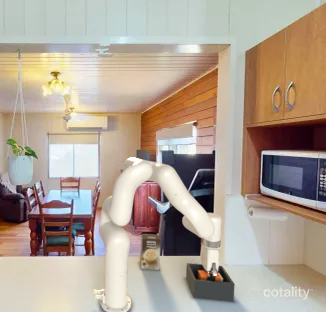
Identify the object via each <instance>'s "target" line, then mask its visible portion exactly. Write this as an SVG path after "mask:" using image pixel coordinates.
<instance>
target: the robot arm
mask: <svg viewBox="0 0 326 312" xmlns="http://www.w3.org/2000/svg"><path fill="white" fill-rule="evenodd" d="M147 181H150V182H154V183H156V184H157V185H158V186H159V188H160V189H161V191H162V192H163V193H164V196H165V197H166V198H167V200H168V202H169V203H170V204H171V205H172V206H173V207H174V209H176V210H177V211H178V212H180V213H181V214H182V215H183V217H182V220H181V222H182V225H183V226H184V228H185V229H187V230H188V231H190V232H191V233H193V234H195V236H197V237H198V238H200V245H201V246H200V253H199V254H200V255H199V261H200V264H202V265H203V271H208V276H207V281H215V278H216V276H217V273H216V272H218V267H219V266H220V263H219V262H220V256H219V254H220V253H219V250H220V249H221V240H222V224H223V223H222V222H223V220H222V219H223V218H222V217H221V216H220V214H218V213H214V212H207V211H206V210H205V208H204V207H203V206H202V205H201V204H200V203H199V202H198V200H196V199H195V198H194V197H193V195H192V194H191V193H190V191H189V190H188V188H187V187H186V186H185V184H184V182H183V180H182V179H181V177H180V175H179V174H178V173H177V171H176V169H175V168H174V167H173V166H171V165H169V164H167V163H166V164H165V163H162V162H157V161H152V160H151V161H150V160H146V159H142V158H138V157H129V158H127V159H126V160H125V161H123V163H122V172H121V173H120V174H119V175H118V176H117V178H116V179H115V181H114V183H113V188H112V194H111V195H110V196H108V197H107V198H105V200H104V201H103V203H102V206H101V212H100V217H99V226H98V234H99V236H100V238H101V241H102V242H103V244H104V247H105V251H104V257H103V289H99V290H98V289H93V291H92V295H93V296H94V298H95V300H99V305H100V307H101V308H102V309H103V310H104V311H105V312H128V311H129V310H130V309H131V308H132V300H131V298H130V296H129V295H128V293H129V292H128V290H129V289H128V288H129V287H128V286H129V285H128V284H129V255H130V250H131V240H130V237H129V234H128V233H127V232H126V230H125V229H124V228H123V227H124V226H127V225H128V224H129V223H130V221H131V218H132V214H133V205H134V201H135V200H134V199H135V193H136V191H137V189H138V188H139V187H140V186H141V185H142V184H144V183H145V182H147ZM211 269H212V270H211ZM210 272H212V274H210Z"/></svg>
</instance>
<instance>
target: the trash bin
mask: <svg viewBox="0 0 326 312" xmlns="http://www.w3.org/2000/svg"><path fill="white" fill-rule="evenodd" d="M185 269H186V271H185V280H186V282H187V285H188V287H189V290H190V292H191V295H192V298H193V299H202V300H213V301H219V302H220V301H221V302H231V303H234V302H235V300H234V299H235V286H236V285H235V282H234V281H233V279H232V278H231V277H230V275H229V273H228V272H227V271H226V269H225V268H224V266H222V265H219V267H218V272H217V273H220V275H221V276H222V278H223V282H218V281H207V280H198V270H203V265H202V263H188V262H186V268H185ZM211 270H212V269H211Z"/></svg>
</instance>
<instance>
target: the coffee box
mask: <svg viewBox="0 0 326 312" xmlns="http://www.w3.org/2000/svg"><path fill="white" fill-rule="evenodd" d="M161 241H162V240H161V237H160V235H159V234H151V233H140V253H139V254H140V257H139V264H140V265H139V266H140V268H141V270H155V271H159V270H160V264H161V263H160V261H161Z"/></svg>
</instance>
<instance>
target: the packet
mask: <svg viewBox="0 0 326 312" xmlns="http://www.w3.org/2000/svg"><path fill="white" fill-rule="evenodd" d="M216 273H217V272H216ZM210 274H212V272H210ZM207 276H208V271H203V270H198V280H207ZM215 281H218V282H223V278H222V276H221V275H220V273H217V276H216V278H215Z"/></svg>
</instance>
